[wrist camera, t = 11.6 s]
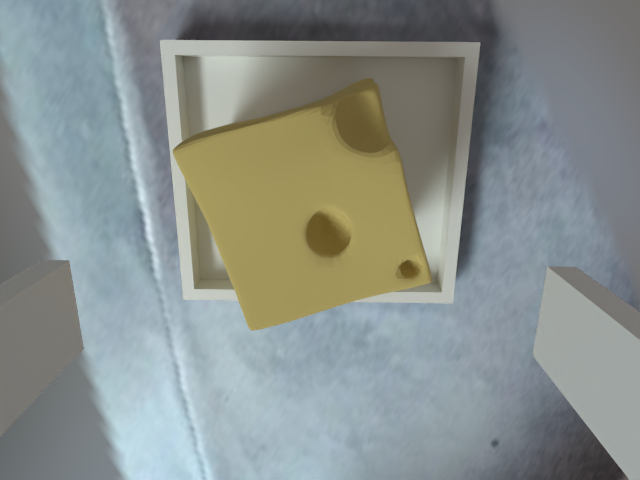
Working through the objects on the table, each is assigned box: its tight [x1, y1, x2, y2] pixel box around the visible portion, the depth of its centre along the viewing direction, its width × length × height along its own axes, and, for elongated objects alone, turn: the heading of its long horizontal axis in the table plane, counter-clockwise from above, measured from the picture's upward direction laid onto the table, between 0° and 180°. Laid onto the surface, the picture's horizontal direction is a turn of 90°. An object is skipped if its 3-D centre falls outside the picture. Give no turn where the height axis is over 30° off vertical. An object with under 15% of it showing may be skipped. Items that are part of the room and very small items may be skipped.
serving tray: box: [160, 40, 480, 303], centre depth 31 cm, size 17×19×2 cm
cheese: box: [173, 78, 432, 330], centre depth 26 cm, size 10×11×10 cm
